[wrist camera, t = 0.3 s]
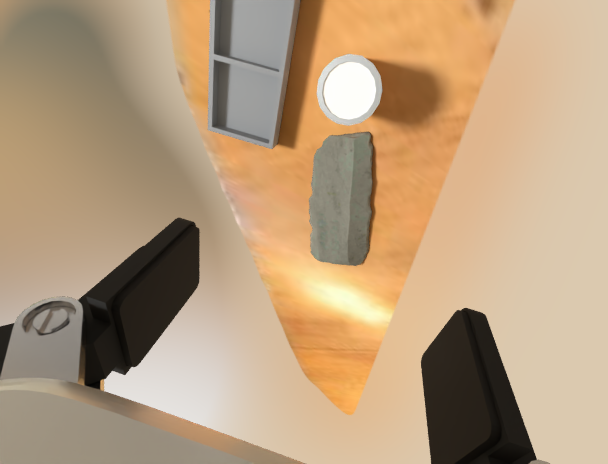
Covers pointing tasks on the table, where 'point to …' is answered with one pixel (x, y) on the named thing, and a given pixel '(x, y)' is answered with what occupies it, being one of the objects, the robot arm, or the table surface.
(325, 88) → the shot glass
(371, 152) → the stone slab
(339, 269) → the table surface
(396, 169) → the table surface
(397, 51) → the table surface
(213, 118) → the tray
